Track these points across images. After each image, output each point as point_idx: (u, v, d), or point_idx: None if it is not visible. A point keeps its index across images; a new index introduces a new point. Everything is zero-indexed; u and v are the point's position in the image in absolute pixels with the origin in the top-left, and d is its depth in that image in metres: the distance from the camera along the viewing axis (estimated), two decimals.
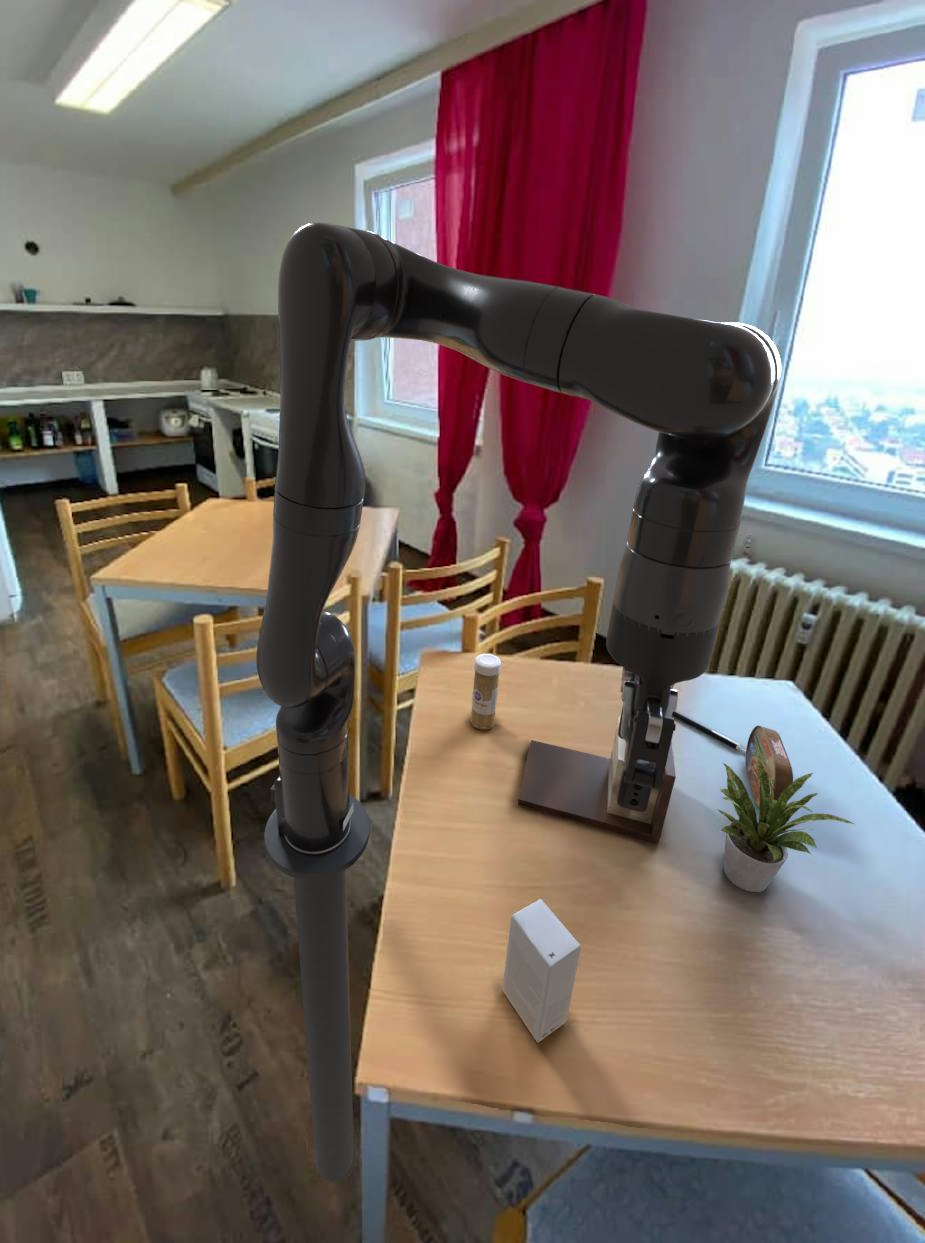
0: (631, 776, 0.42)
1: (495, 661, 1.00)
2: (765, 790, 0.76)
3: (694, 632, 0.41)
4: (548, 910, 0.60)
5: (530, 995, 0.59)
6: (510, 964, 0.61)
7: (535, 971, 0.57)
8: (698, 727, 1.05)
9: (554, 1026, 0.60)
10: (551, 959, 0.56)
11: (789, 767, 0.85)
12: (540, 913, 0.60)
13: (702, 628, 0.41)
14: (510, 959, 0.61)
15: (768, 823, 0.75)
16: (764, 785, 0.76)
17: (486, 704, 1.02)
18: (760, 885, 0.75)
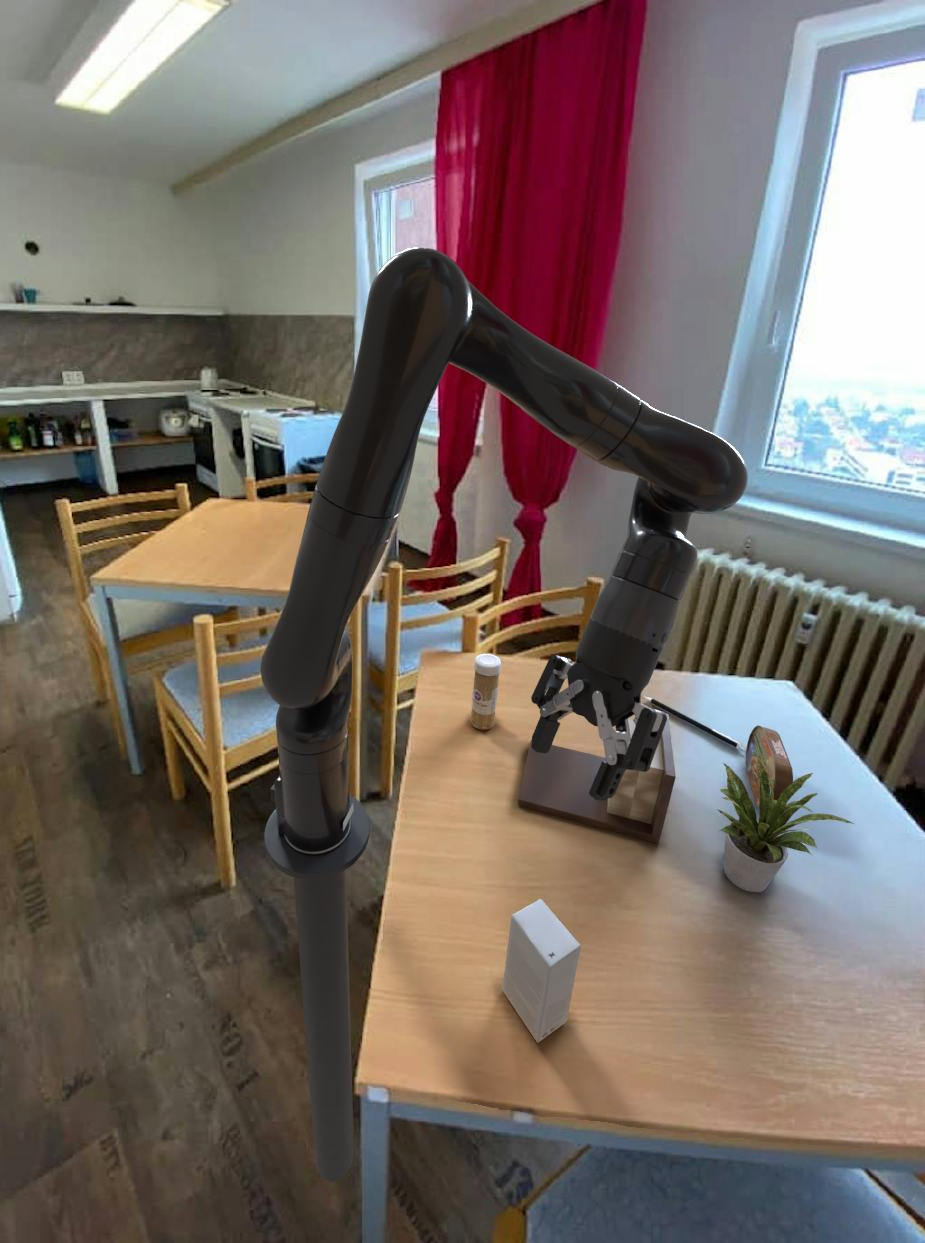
0: (637, 763, 0.53)
1: (495, 661, 1.00)
2: (765, 790, 0.76)
3: (663, 647, 0.57)
4: (548, 910, 0.60)
5: (530, 995, 0.59)
6: (510, 964, 0.61)
7: (535, 971, 0.57)
8: (698, 726, 1.05)
9: (554, 1026, 0.60)
10: (551, 959, 0.56)
11: (790, 767, 0.85)
12: (540, 913, 0.60)
13: (664, 644, 0.58)
14: (510, 959, 0.61)
15: (768, 823, 0.75)
16: (764, 785, 0.76)
17: (486, 704, 1.02)
18: (760, 885, 0.75)
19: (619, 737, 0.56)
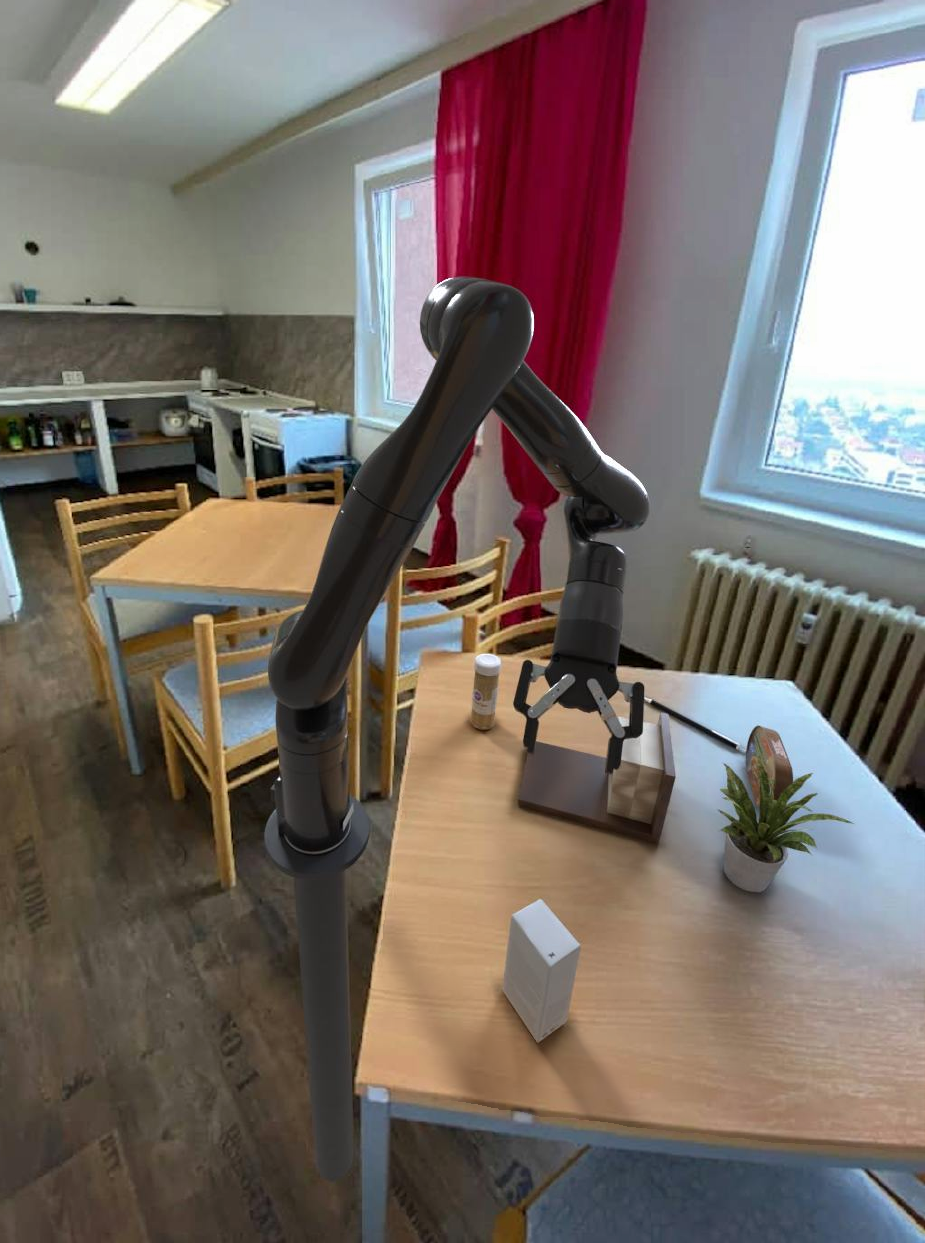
0: None
1: (495, 661, 1.00)
2: (765, 790, 0.76)
3: None
4: (548, 910, 0.60)
5: (530, 995, 0.59)
6: (510, 964, 0.61)
7: (535, 971, 0.57)
8: (698, 727, 1.05)
9: (554, 1026, 0.60)
10: (551, 959, 0.56)
11: (790, 767, 0.85)
12: (540, 913, 0.60)
13: None
14: (510, 959, 0.61)
15: (768, 823, 0.75)
16: (764, 785, 0.76)
17: (486, 704, 1.02)
18: (760, 885, 0.75)
19: None
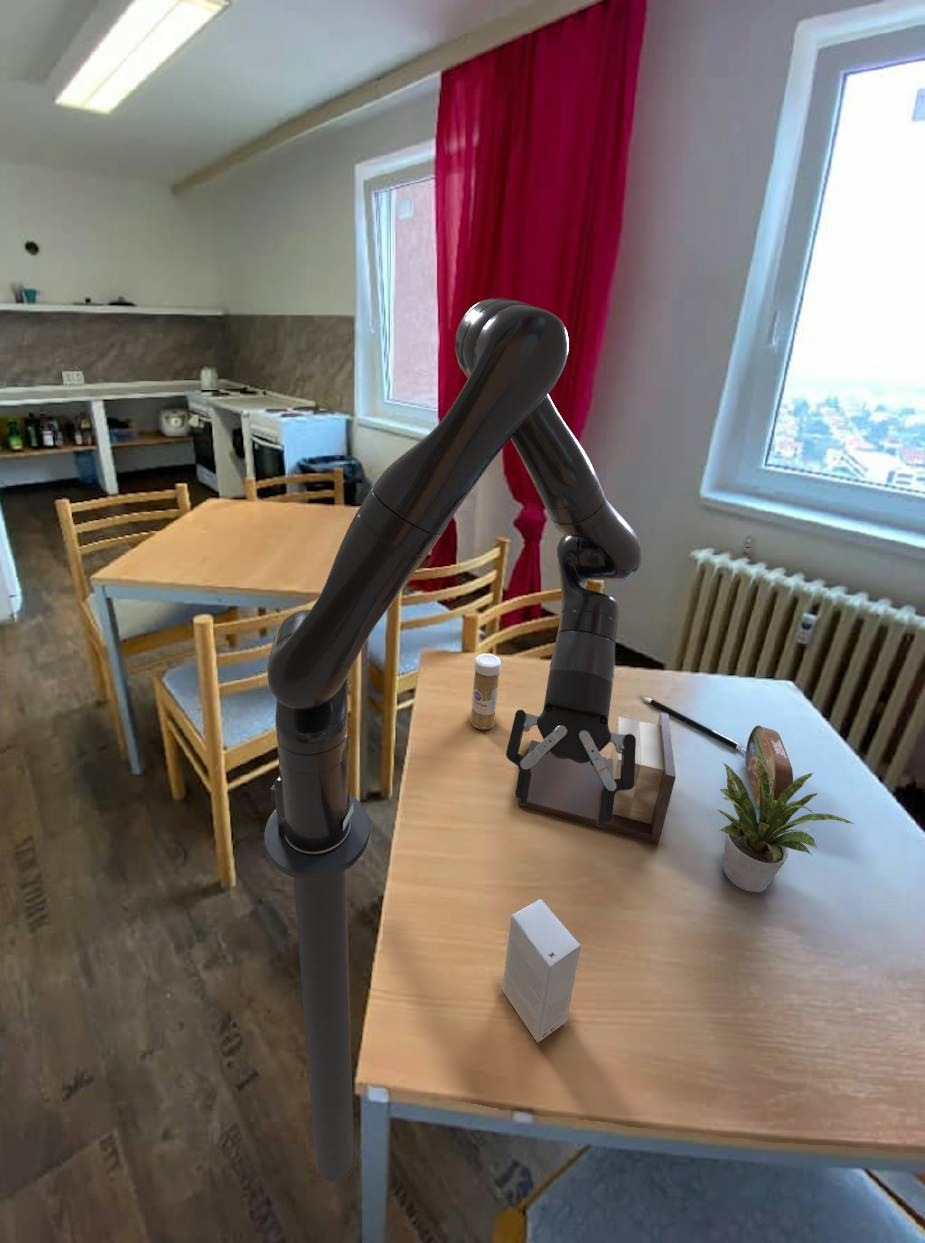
0: None
1: (495, 661, 1.00)
2: (765, 790, 0.76)
3: None
4: (548, 910, 0.60)
5: (530, 995, 0.59)
6: (510, 964, 0.61)
7: (535, 971, 0.57)
8: (698, 727, 1.05)
9: (554, 1026, 0.60)
10: (551, 959, 0.56)
11: (789, 767, 0.85)
12: (540, 913, 0.60)
13: None
14: (510, 959, 0.61)
15: (768, 823, 0.75)
16: (764, 785, 0.76)
17: (486, 704, 1.02)
18: (760, 885, 0.75)
19: None
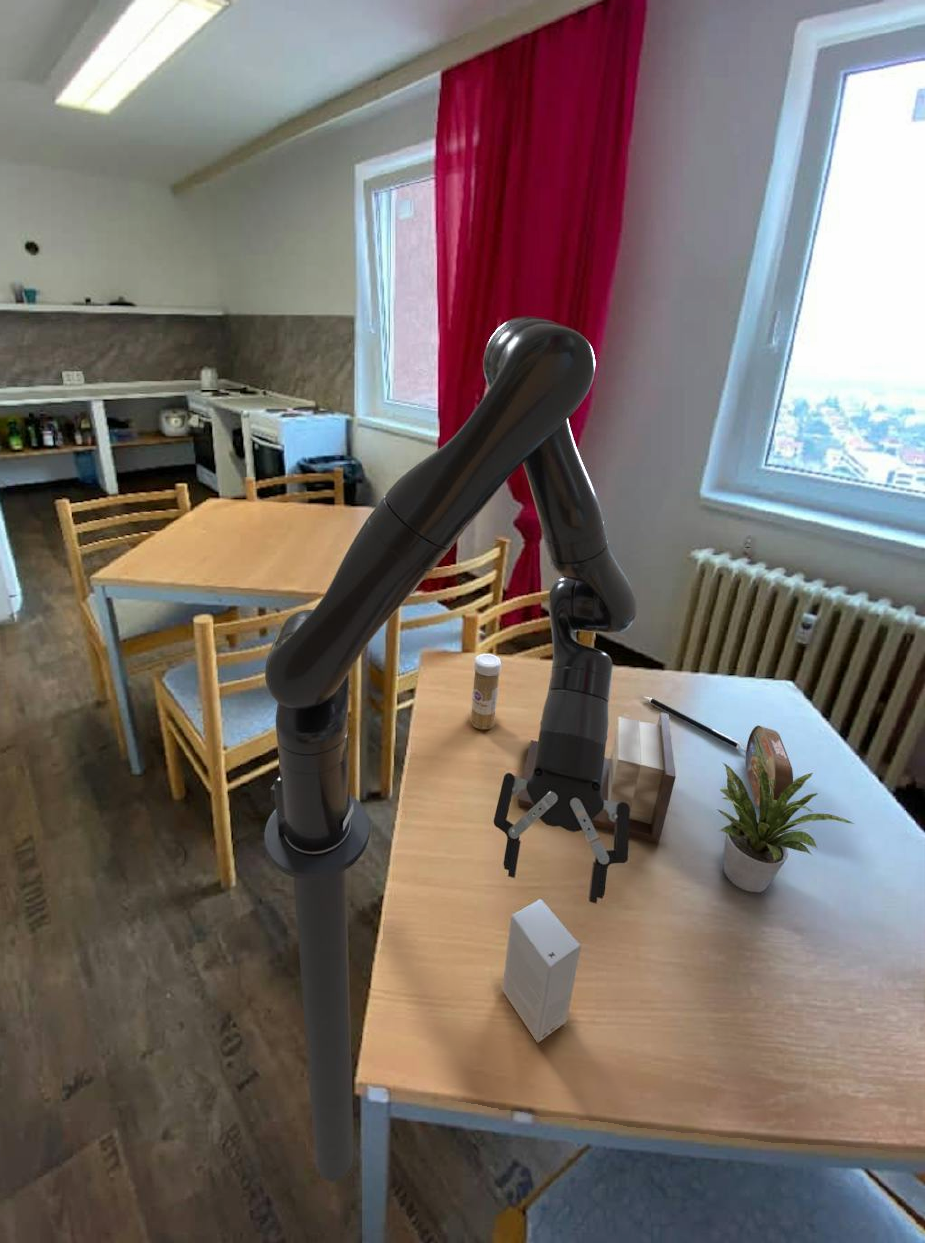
0: None
1: (495, 661, 1.00)
2: (765, 790, 0.76)
3: None
4: (548, 910, 0.60)
5: (530, 995, 0.59)
6: (510, 964, 0.61)
7: (535, 971, 0.57)
8: (698, 726, 1.05)
9: (554, 1026, 0.60)
10: (551, 959, 0.56)
11: (790, 767, 0.85)
12: (540, 913, 0.60)
13: None
14: (510, 959, 0.61)
15: (768, 823, 0.75)
16: (764, 785, 0.76)
17: (486, 704, 1.02)
18: (760, 885, 0.75)
19: None
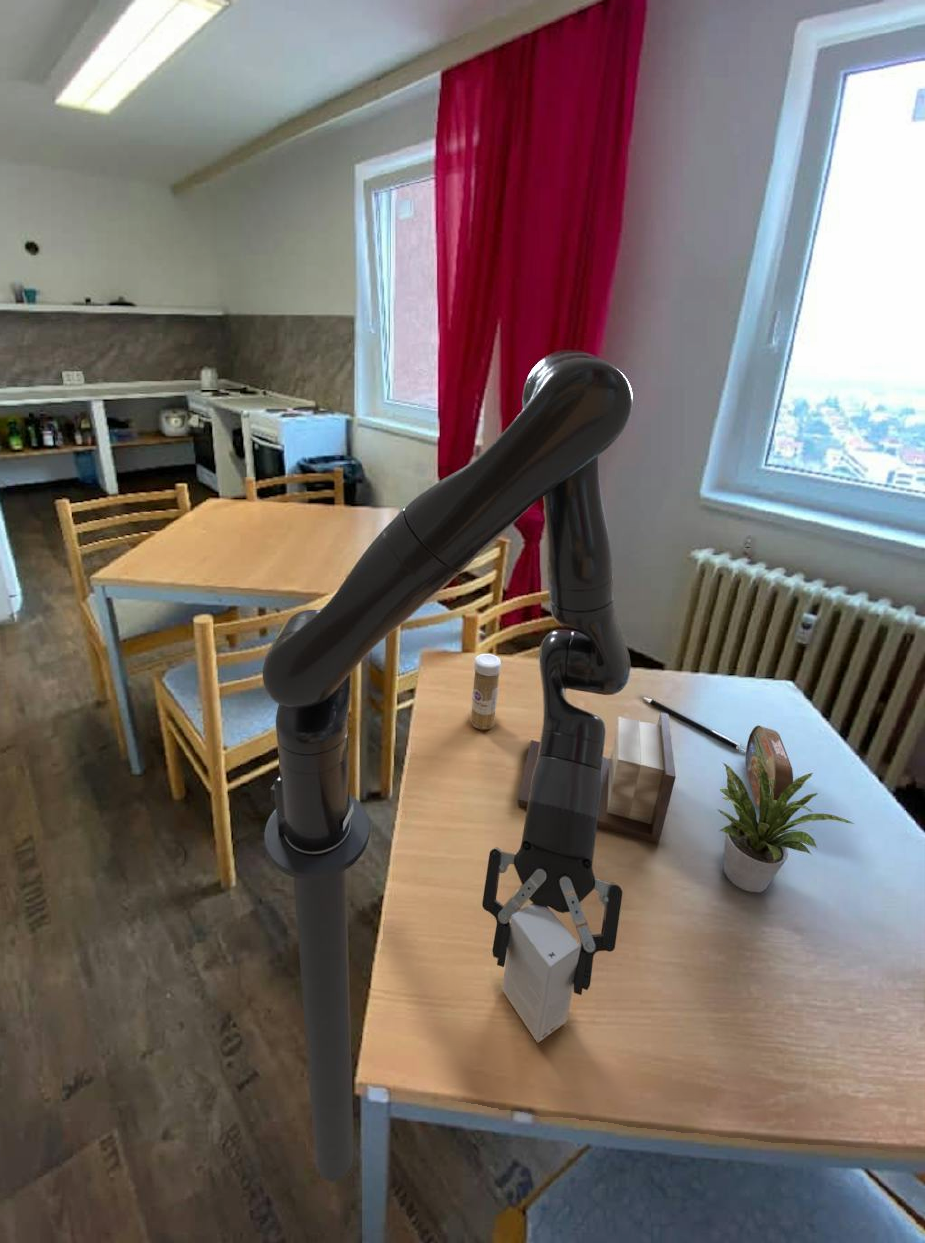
0: None
1: (495, 661, 1.00)
2: (765, 790, 0.76)
3: None
4: (548, 910, 0.60)
5: (530, 995, 0.59)
6: (510, 964, 0.61)
7: (535, 971, 0.57)
8: (698, 727, 1.05)
9: (554, 1026, 0.60)
10: (551, 959, 0.56)
11: (790, 767, 0.85)
12: (540, 913, 0.60)
13: None
14: (510, 959, 0.61)
15: (768, 823, 0.75)
16: (764, 785, 0.76)
17: (486, 704, 1.02)
18: (760, 885, 0.75)
19: None
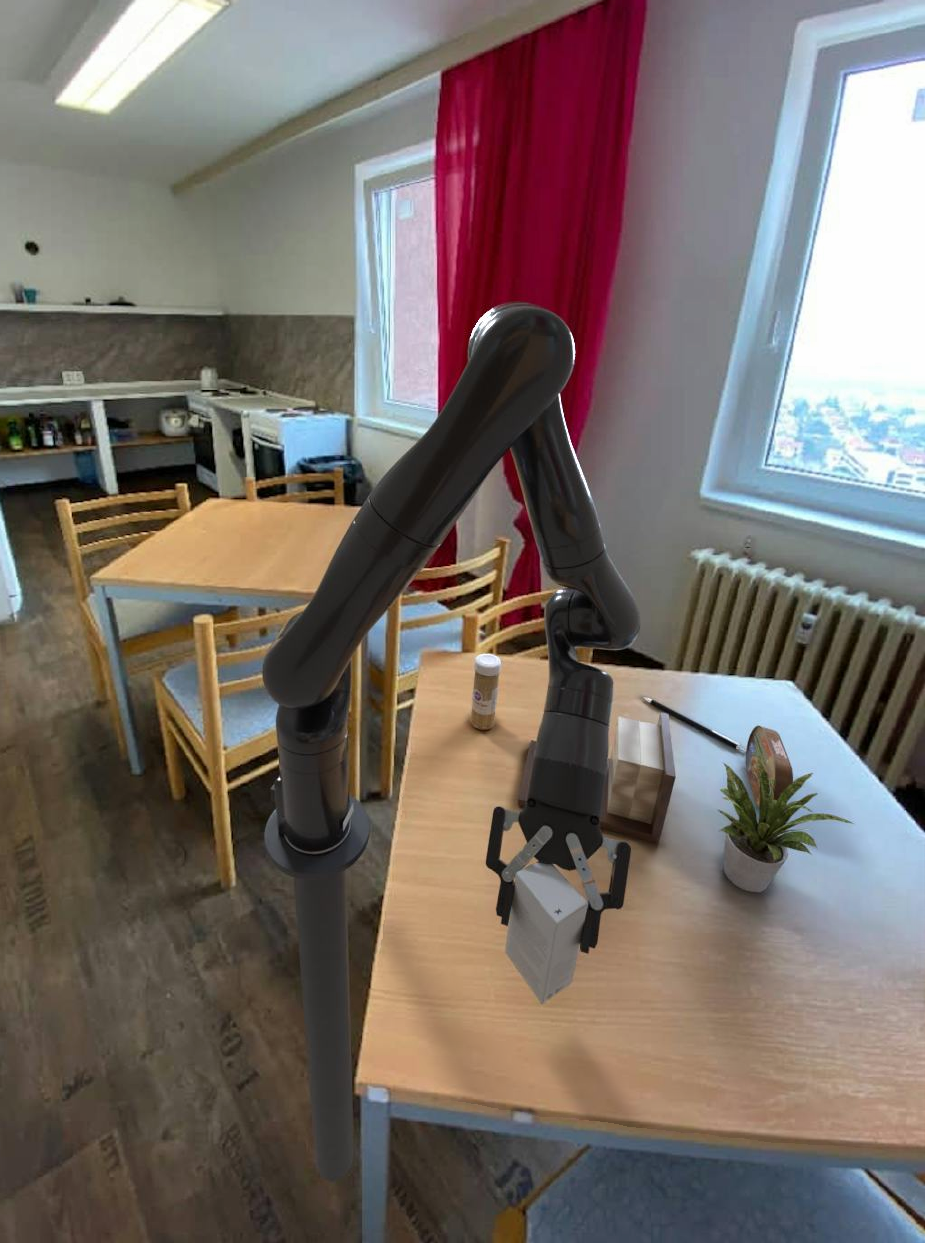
0: None
1: (495, 661, 1.00)
2: (765, 790, 0.76)
3: None
4: (554, 868, 0.58)
5: (534, 954, 0.57)
6: (514, 924, 0.59)
7: (540, 929, 0.55)
8: (698, 727, 1.05)
9: (559, 987, 0.58)
10: (558, 915, 0.54)
11: (790, 767, 0.85)
12: (545, 871, 0.58)
13: None
14: (514, 919, 0.59)
15: (768, 823, 0.75)
16: (764, 785, 0.76)
17: (486, 704, 1.02)
18: (760, 885, 0.75)
19: None
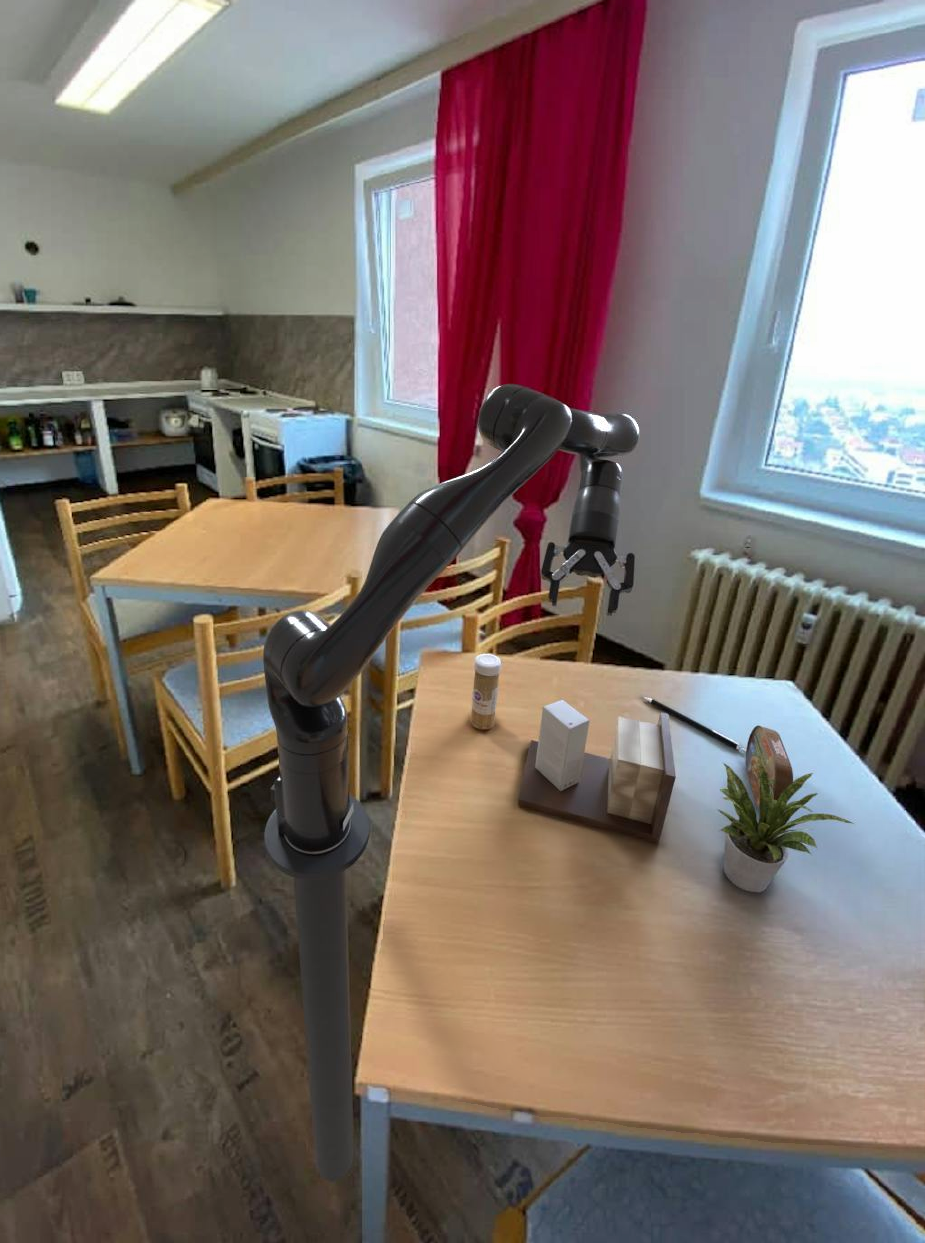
0: None
1: (495, 661, 1.00)
2: (765, 790, 0.76)
3: None
4: (567, 704, 0.90)
5: (555, 758, 0.89)
6: (541, 743, 0.91)
7: (559, 738, 0.87)
8: (698, 727, 1.05)
9: (571, 781, 0.90)
10: (570, 725, 0.85)
11: (790, 767, 0.85)
12: (562, 706, 0.90)
13: None
14: (541, 740, 0.91)
15: (768, 823, 0.75)
16: (764, 785, 0.76)
17: (486, 704, 1.02)
18: (760, 885, 0.75)
19: None
